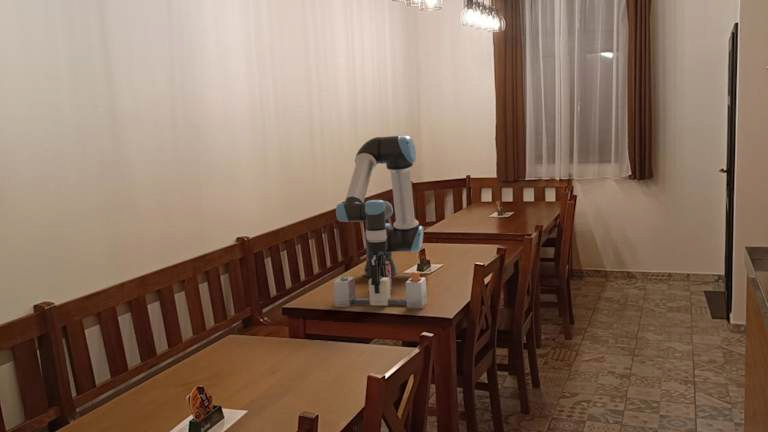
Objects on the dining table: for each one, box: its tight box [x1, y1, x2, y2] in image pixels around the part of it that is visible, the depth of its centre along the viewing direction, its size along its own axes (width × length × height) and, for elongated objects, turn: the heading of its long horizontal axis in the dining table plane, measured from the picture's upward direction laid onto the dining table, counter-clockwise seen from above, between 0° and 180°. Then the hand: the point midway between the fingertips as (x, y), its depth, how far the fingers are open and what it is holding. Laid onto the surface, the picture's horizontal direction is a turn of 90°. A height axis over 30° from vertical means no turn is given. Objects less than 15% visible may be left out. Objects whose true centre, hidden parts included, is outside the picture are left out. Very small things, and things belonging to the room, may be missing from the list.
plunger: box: [411, 270, 421, 281], centre depth 266 cm, size 3×3×6 cm
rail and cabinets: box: [332, 276, 428, 309], centre depth 271 cm, size 8×35×11 cm, turn 74°
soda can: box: [386, 261, 393, 294], centre depth 289 cm, size 7×7×13 cm
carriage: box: [368, 276, 392, 307], centre depth 271 cm, size 5×7×11 cm
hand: (380, 299), depth 271 cm, fingers closed on carriage, 5 cm apart
